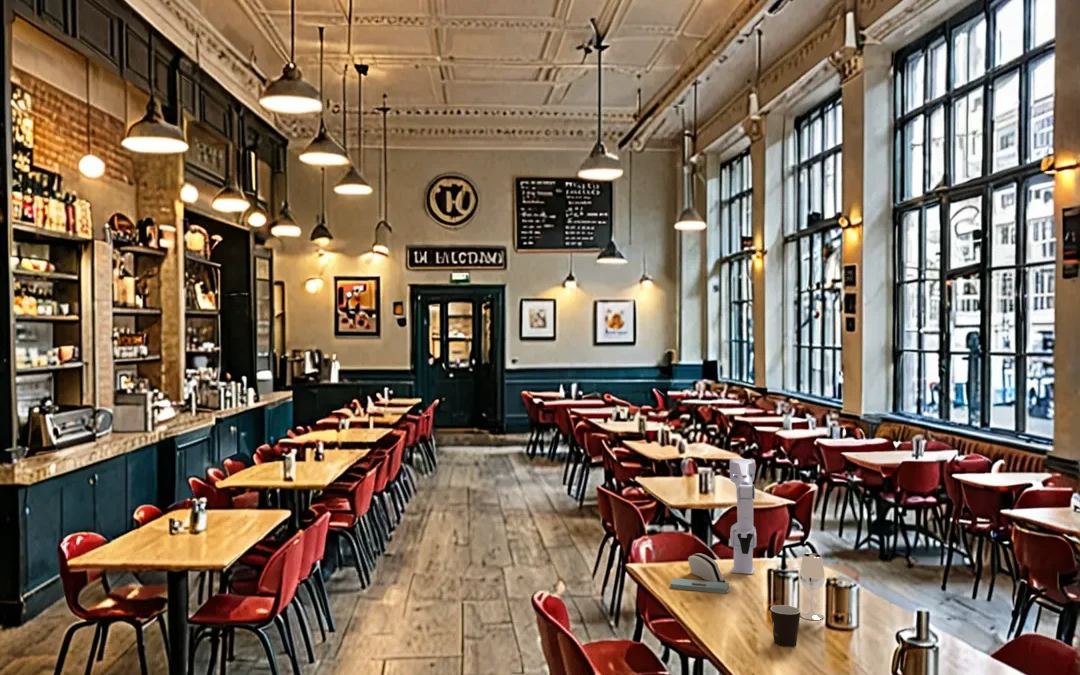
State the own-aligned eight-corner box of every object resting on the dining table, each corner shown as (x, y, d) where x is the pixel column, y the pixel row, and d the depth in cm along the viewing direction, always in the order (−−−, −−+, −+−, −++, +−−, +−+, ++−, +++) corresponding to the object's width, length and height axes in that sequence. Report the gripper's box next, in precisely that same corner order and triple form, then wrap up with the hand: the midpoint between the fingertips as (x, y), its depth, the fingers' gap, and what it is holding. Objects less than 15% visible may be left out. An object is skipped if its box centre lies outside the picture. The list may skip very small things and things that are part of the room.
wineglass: (828, 616, 283) (829, 555, 283) (818, 622, 278) (818, 559, 278) (806, 611, 289) (806, 551, 289) (795, 616, 283) (795, 555, 283)
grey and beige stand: (727, 582, 322) (719, 558, 321) (716, 588, 320) (709, 563, 319) (702, 571, 337) (694, 547, 336) (692, 576, 336) (684, 552, 334)
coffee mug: (795, 650, 252) (795, 616, 252) (766, 644, 257) (766, 610, 257) (806, 638, 262) (806, 605, 262) (778, 633, 267) (778, 600, 267)
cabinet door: (674, 582, 322) (674, 576, 322) (729, 587, 316) (729, 581, 316) (670, 588, 314) (670, 582, 314) (726, 593, 308) (726, 587, 308)
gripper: (736, 512, 332) (736, 548, 332) (732, 519, 318) (732, 556, 318) (755, 514, 330) (755, 550, 329) (752, 520, 316) (752, 558, 316)
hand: (745, 553), depth 323 cm, fingers closed
